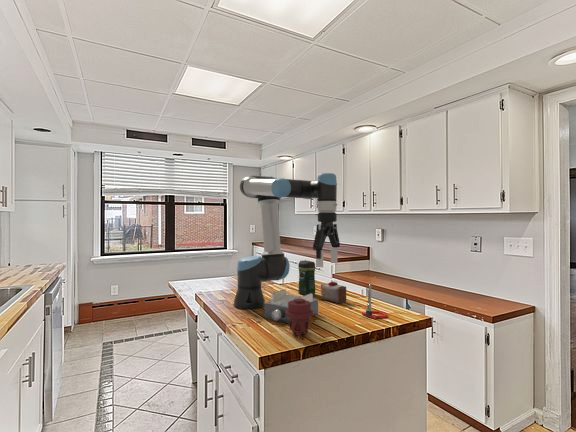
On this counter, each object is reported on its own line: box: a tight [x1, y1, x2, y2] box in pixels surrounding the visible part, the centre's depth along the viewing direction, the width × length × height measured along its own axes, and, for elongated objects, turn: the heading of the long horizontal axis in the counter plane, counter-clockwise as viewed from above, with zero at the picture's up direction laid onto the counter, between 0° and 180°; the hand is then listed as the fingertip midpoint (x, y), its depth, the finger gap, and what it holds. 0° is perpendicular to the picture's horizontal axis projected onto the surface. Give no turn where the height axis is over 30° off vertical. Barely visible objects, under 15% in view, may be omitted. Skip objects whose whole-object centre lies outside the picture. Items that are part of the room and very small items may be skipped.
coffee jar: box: [297, 259, 316, 296], centre depth 183 cm, size 10×8×19 cm
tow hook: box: [361, 284, 388, 320], centre depth 142 cm, size 9×14×10 cm
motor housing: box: [264, 289, 319, 324], centre depth 141 cm, size 16×21×10 cm
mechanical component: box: [286, 298, 314, 337], centre depth 121 cm, size 12×10×10 cm
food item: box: [320, 281, 347, 305], centre depth 168 cm, size 14×8×10 cm, turn 41°
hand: (327, 265), depth 131 cm, fingers open, 13 cm apart
